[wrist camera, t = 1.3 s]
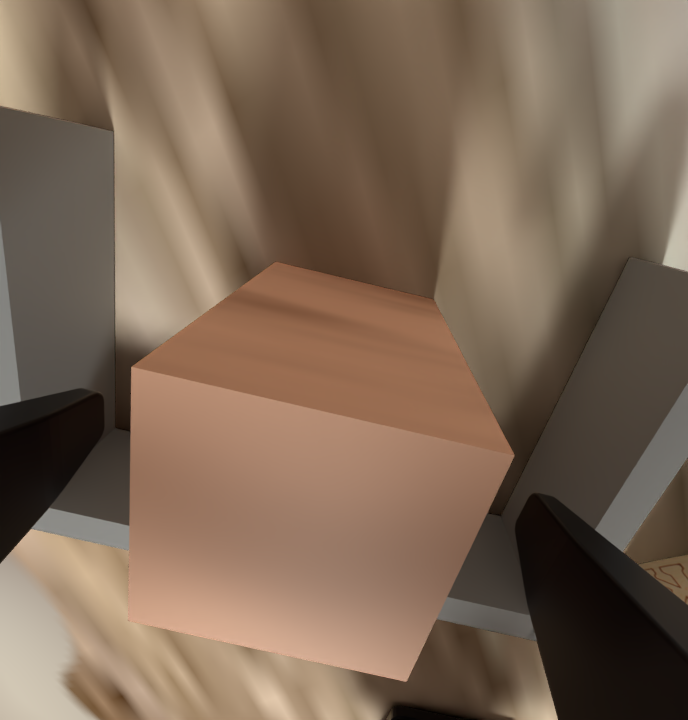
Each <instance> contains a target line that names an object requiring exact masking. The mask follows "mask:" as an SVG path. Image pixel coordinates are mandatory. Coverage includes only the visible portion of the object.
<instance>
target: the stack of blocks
mask: <svg viewBox="0 0 688 720" xmlns="http://www.w3.org/2000/svg"><path fill="white" fill-rule="evenodd" d="M638 565H639V566H641V567H642V568H643V569H644V570H645V571H647V572H648V573H649V574H650V575H652V576H653V577H654V578H655V579H657V580H658V581H659V582H660V583H662V584H663V585H664V586H665V587H666V588H668V589H669V590H670V591H671V592H673V593H674V594H675V595H676V596H678V597H679V598H680V599H681V600H683V601H684V602H685V603H686V604H687V605H688V555H683V556H678V557H673V558H667V559H662V560H657V561H652V562H647V563H642V564H638Z"/></svg>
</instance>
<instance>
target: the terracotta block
mask: <svg viewBox="0 0 688 720" xmlns="http://www.w3.org/2000/svg"><path fill="white" fill-rule="evenodd" d="M514 456H515V455H514V453H513V451H512V449H511V447H510V446H509V444H508V442H507V440H506V438H505V436H504V434H503V432H502V430H501V428H500V426H499V424H498V422H497V420H496V419H495V417H494V415H493V413H492V411H491V409H490V407H489V405H488V403H487V401H486V399H485V397H484V395H483V394H482V392H481V390H480V388H479V386H478V384H477V382H476V380H475V378H474V376H473V374H472V372H471V370H470V368H469V367H468V365H467V363H466V361H465V359H464V357H463V355H462V353H461V351H460V349H459V347H458V345H457V343H456V341H455V340H454V338H453V336H452V334H451V332H450V330H449V328H448V326H447V324H446V322H445V320H444V318H443V316H442V314H441V313H440V311H439V309H438V307H437V305H436V303H435V301H434V299H430V298H426V297H422V296H417V295H413V294H409V293H405V292H401V291H397V290H392V289H388V288H384V287H380V286H376V285H371V284H367V283H363V282H359V281H355V280H350V279H346V278H342V277H338V276H334V275H329V274H325V273H321V272H317V271H313V270H308V269H304V268H300V267H296V266H292V265H287V264H283V263H279V262H274V263H273V264H272V265H270V266H269V267H268V268H266V269H265V270H263V271H262V272H261V273H259V274H258V275H257V276H255V277H254V278H252V279H251V280H250V281H248V282H247V283H246V284H244V285H243V286H242V287H240V288H239V289H237V290H236V291H235V292H233V293H232V294H231V295H229V296H228V297H226V298H225V299H224V300H222V301H221V302H220V303H218V304H217V305H215V306H214V307H213V308H211V309H210V310H209V311H207V312H206V313H204V314H203V315H202V316H200V317H199V318H198V319H196V320H195V321H194V322H192V323H191V324H189V325H188V326H187V327H185V328H184V329H183V330H181V331H180V332H178V333H177V334H176V335H174V336H173V337H172V338H170V339H169V340H167V341H166V342H165V343H163V344H162V345H161V346H159V347H158V348H156V349H155V350H154V351H152V352H151V353H150V354H148V355H147V356H145V357H144V358H143V359H141V360H140V361H139V362H137V363H136V364H135V365H133V366H132V367H131V435H130V517H129V599H128V621H131V622H135V623H140V624H145V625H149V626H154V627H158V628H163V629H167V630H172V631H177V632H181V633H186V634H190V635H195V636H199V637H204V638H208V639H213V640H218V641H222V642H227V643H231V644H236V645H240V646H245V647H249V648H254V649H259V650H263V651H268V652H272V653H277V654H281V655H286V656H291V657H295V658H300V659H304V660H309V661H313V662H318V663H322V664H327V665H332V666H336V667H341V668H345V669H350V670H354V671H359V672H364V673H368V674H373V675H377V676H382V677H386V678H391V679H395V680H400V681H405V682H407V680H408V678H409V676H410V673H411V671H412V669H413V667H414V665H415V663H416V661H417V659H418V657H419V655H420V653H421V650H422V648H423V646H424V644H425V642H426V640H427V638H428V636H429V634H430V632H431V630H432V627H433V625H434V623H435V621H436V619H437V617H438V615H439V613H440V611H441V609H442V607H443V604H444V602H445V600H446V598H447V596H448V594H449V592H450V590H451V588H452V586H453V584H454V581H455V579H456V577H457V575H458V573H459V571H460V569H461V567H462V565H463V563H464V561H465V559H466V556H467V554H468V552H469V550H470V548H471V546H472V544H473V542H474V540H475V538H476V536H477V533H478V531H479V529H480V527H481V525H482V523H483V521H484V519H485V517H486V515H487V513H488V510H489V508H490V506H491V504H492V502H493V500H494V498H495V496H496V494H497V492H498V490H499V487H500V485H501V483H502V481H503V479H504V477H505V475H506V473H507V471H508V469H509V467H510V465H511V462H512V460H513V458H514Z"/></svg>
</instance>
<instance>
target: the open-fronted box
mask: <svg viewBox="0 0 688 720" xmlns="http://www.w3.org/2000/svg"><path fill="white" fill-rule="evenodd" d="M77 388H85V389H89V390H94V391H98V392H101V393H102V394H103V396H104V406H105V428H104V432H103V435H102V437H101V438H100V440H99V441H98V443H97V444H96V446H95V447H94V448H93V450H92V451H91V453H90V454H89V455H88V457H87V458H86V459H85V461H84V462H83V464H82V465H81V466H80V468H79V469H78V471H77V472H76V473H75V475H74V476H73V478H72V479H71V480H70V482H69V483H68V485H67V486H66V487H65V489H64V490H63V491H62V493H61V494H60V495H59V497H58V498H57V499H56V501H55V502H54V503H53V504H52V505H51V506H50V508H49V509H48V510H47V511H46V512H45V513H44V515H43V516H42V517H41V518H40V519H39V520H38V521H37V522H36V524H35V525H34V526H33V527H32V528H31V529H34V530H39V531H43V532H48V533H52V534H57V535H61V536H66V537H70V538H75V539H79V540H84V541H88V542H93V543H97V544H102V545H106V546H111V547H115V548H120V549H124V550H129V517H130V435H131V432H130V431H125V430H121V429H117V428H115V310H114V134H113V131H109V130H105V129H101V128H97V127H93V126H89V125H85V124H81V123H76V122H72V121H67V120H63V119H58V118H53V117H49V116H44V115H40V114H35V113H31V112H26V111H22V110H17V109H13V108H8V107H3V106H0V406H3V405H7V404H12V403H16V402H20V401H25V400H29V399H33V398H38V397H42V396H47V395H51V394H55V393H60V392H64V391H69V390H73V389H77ZM687 458H688V272H687V271H684V270H680V269H676V268H672V267H669V266H665V265H661V264H657V263H653V262H648V261H644V260H640V259H636V258H632V257H630V258H629V260H628V262H627V264H626V266H625V268H624V270H623V272H622V274H621V276H620V278H619V280H618V282H617V284H616V286H615V288H614V290H613V292H612V294H611V296H610V298H609V300H608V302H607V304H606V306H605V308H604V310H603V312H602V314H601V316H600V318H599V320H598V322H597V324H596V326H595V328H594V330H593V332H592V334H591V336H590V338H589V340H588V342H587V344H586V346H585V348H584V350H583V352H582V354H581V356H580V358H579V360H578V362H577V364H576V366H575V368H574V370H573V372H572V374H571V376H570V378H569V380H568V382H567V384H566V386H565V388H564V390H563V392H562V394H561V396H560V398H559V400H558V402H557V404H556V406H555V408H554V410H553V412H552V414H551V416H550V418H549V420H548V422H547V424H546V426H545V428H544V430H543V432H542V434H541V437H540V439H539V441H538V443H537V445H536V447H535V449H534V451H533V453H532V455H531V457H530V459H529V461H528V463H527V465H526V467H525V469H524V471H523V473H522V475H521V477H520V479H519V481H518V483H517V485H516V487H515V489H514V491H513V493H512V495H511V497H510V499H509V501H508V503H507V505H506V507H505V509H504V511H503V513H502V515H501V516H497V515H493V514H489V513H487V515H486V517H485V519H484V521H483V523H482V525H481V527H480V529H479V531H478V533H477V536H476V538H475V540H474V542H473V544H472V546H471V548H470V550H469V552H468V554H467V556H466V559H465V561H464V563H463V565H462V567H461V569H460V571H459V573H458V575H457V577H456V579H455V581H454V584H453V586H452V588H451V590H450V592H449V594H448V596H447V598H446V600H445V602H444V604H443V607H442V609H441V611H440V613H439V615H438V617H437V619H439V620H443V621H448V622H452V623H457V624H461V625H466V626H470V627H475V628H479V629H484V630H488V631H493V632H497V633H502V634H506V635H511V636H515V637H520V638H524V639H529V640H533V641H537V640H536V636H535V633H534V629H533V626H532V622H531V618H530V614H529V610H528V606H527V601H526V596H525V591H524V585H523V579H522V573H521V567H520V561H519V555H518V549H517V543H516V537H515V523H516V520H517V518H518V516H519V514H520V512H521V510H522V508H523V506H524V504H525V502H526V500H527V499H528V497H529V495H530V494H532V493H534V492H537V493H542V494H546V495H551V496H553V497H555V498H556V499H558V500H559V501H560V502H561V503H563V504H564V505H565V506H566V507H568V508H569V509H570V510H571V511H572V512H574V513H575V514H576V515H577V516H579V517H580V518H581V519H582V520H584V521H585V522H586V523H587V524H589V525H590V526H591V527H592V528H594V529H595V530H596V531H597V532H598V533H600V534H601V535H602V536H603V537H605V538H606V539H607V540H608V541H610V542H611V543H612V544H613V545H615V546H616V547H617V548H618V549H619V550H621V551H622V552H623V551H624V549H625V548H626V546H627V545H628V543H629V542H630V541H631V539H632V538H633V536H634V535H635V533H636V532H637V530H638V529H639V528H640V526H641V525H642V523H643V522H644V520H645V519H646V517H647V516H648V514H649V513H650V512H651V510H652V509H653V507H654V506H655V504H656V503H657V501H658V500H659V499H660V497H661V496H662V494H663V493H664V491H665V490H666V488H667V487H668V485H669V484H670V483H671V481H672V480H673V478H674V477H675V475H676V474H677V472H678V471H679V470H680V468H681V467H682V465H683V464H684V462H685V461H686V459H687Z"/></svg>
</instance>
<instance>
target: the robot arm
mask: <svg viewBox="0 0 688 720" xmlns="http://www.w3.org/2000/svg"><path fill="white" fill-rule="evenodd" d="M104 428H105V406H104V396H103V394H102V393H101V392H98V391H94V390H89V389H85V388H77V389H73V390H69V391H64V392H60V393H55V394H51V395H47V396H42V397H38V398H33V399H29V400H25V401H20V402H16V403H12V404H7V405H3V406H0V563H1V562H2V561H3V560H4V559H5V558H6V556H7V555H8V554H9V553H10V552H11V551H12V550H13V549H14V547H15V546H16V545H17V544H18V543H19V542H20V541H21V539H22V538H23V537H24V536H25V535H26V534H27V533H28V532H29V530H30V529H31V528H32V527H33V526H34V525H35V524H36V522H37V521H38V520H39V519H40V518H41V517H42V516H43V515H44V513H45V512H46V511H47V510H48V509H49V508H50V506H51V505H52V504H53V503H54V502H55V501H56V499H57V498H58V497H59V495H60V494H61V493H62V491H63V490H64V489H65V487H66V486H67V485H68V483H69V482H70V480H71V479H72V478H73V476H74V475H75V473H76V472H77V471H78V469H79V468H80V466H81V465H82V464H83V462H84V461H85V459H86V458H87V457H88V455H89V454H90V453H91V451H92V450H93V448H94V447H95V446H96V444H97V443H98V441H99V440H100V438H101V437H102V435H103V432H104ZM515 537H516V543H517V549H518V555H519V561H520V567H521V573H522V579H523V585H524V591H525V596H526V601H527V606H528V610H529V614H530V618H531V622H532V626H533V629H534V633H535V636H536V640H537V644H538V647H539V651H540V655H541V658H542V662H543V666H544V669H545V673H546V677H547V680H548V684H549V688H550V691H551V695H552V699H553V702H554V706H555V710H556V713H557V717H558V720H688V605H687V604H686V603H685V602H684V601H683V600H681V599H680V598H679V597H678V596H676V595H675V594H674V593H673V592H671V591H670V590H669V589H668V588H666V587H665V586H664V585H663V584H662V583H660V582H659V581H658V580H657V579H655V578H654V577H653V576H652V575H650V574H649V573H648V572H647V571H645V570H644V569H643V568H642V567H641V566H639V565H638V564H637V563H636V562H634V561H633V560H632V559H631V558H629V557H628V556H627V555H626V554H624V553H623V552H622V551H621V550H619V549H618V548H617V547H616V546H615V545H613V544H612V543H611V542H610V541H608V540H607V539H606V538H605V537H603V536H602V535H601V534H600V533H598V532H597V531H596V530H595V529H594V528H592V527H591V526H590V525H589V524H587V523H586V522H585V521H584V520H582V519H581V518H580V517H579V516H577V515H576V514H575V513H574V512H572V511H571V510H570V509H569V508H568V507H566V506H565V505H564V504H563V503H561V502H560V501H559V500H558V499H556V498H555V497H553V496H551V495H546V494H542V493H537V492H534V493H532V494H530V495H529V497H528V499H527V500H526V502H525V504H524V506H523V508H522V510H521V512H520V514H519V516H518V518H517V520H516V523H515ZM386 720H463V719H459V718H454V717H450V716H445V715H440V714H436V713H431V712H427V711H422V710H418V709H413V708H408V707H404V706H396V707H394V708H392V709H391V711H390V713H389V715H388V717H387V719H386Z"/></svg>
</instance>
